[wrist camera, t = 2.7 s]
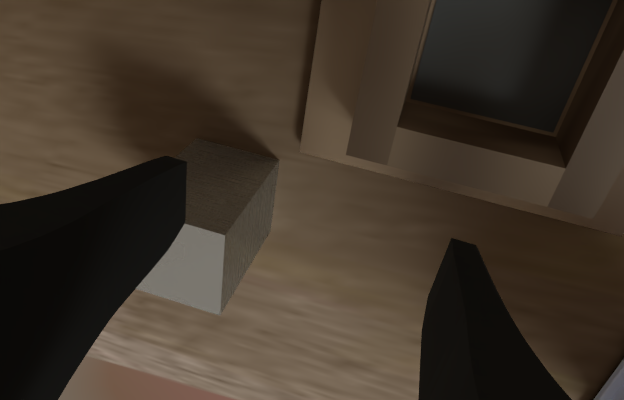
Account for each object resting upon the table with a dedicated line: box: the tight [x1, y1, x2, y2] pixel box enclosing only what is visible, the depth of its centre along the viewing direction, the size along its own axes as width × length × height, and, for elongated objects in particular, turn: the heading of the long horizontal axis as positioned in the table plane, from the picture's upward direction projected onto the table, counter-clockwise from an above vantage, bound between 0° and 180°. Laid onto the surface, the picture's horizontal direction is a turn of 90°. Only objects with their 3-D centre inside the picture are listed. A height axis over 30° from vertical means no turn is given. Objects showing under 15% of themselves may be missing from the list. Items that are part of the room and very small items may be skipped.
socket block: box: [299, 0, 624, 236], centre depth 16 cm, size 13×12×3 cm
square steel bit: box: [136, 138, 279, 315], centre depth 22 cm, size 4×4×6 cm
